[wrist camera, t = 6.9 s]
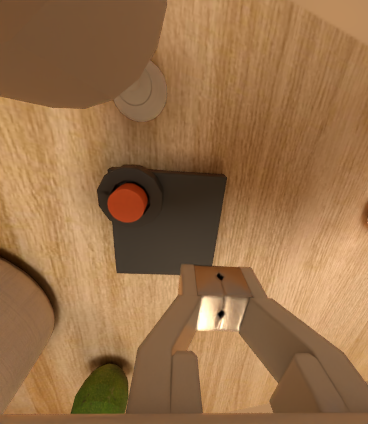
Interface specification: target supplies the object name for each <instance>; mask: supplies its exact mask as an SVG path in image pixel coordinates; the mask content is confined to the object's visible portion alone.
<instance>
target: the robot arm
mask: <svg viewBox="0 0 368 424" xmlns="http://www.w3.org/2000/svg"><path fill="white" fill-rule="evenodd" d="M213 330H217V331H235V332H239V334H240V335H241V337H242V338H243V339H244V340H245V342H246V343H247V344H248V345H249V347H250V348H251V349H252V350H253V352H254V353H255V354H256V356H257V357H258V358H259V359H260V361H261V362H262V363H263V364H264V366H265V367H266V368H267V370H268V371H269V372H270V373H271V375H272V376H273V377H274V378H275V380H276V381H277V382H278V385H277V387H276V389H275V391H274V392H273V394H272V396H271V398H270V404H271V407H272V410H273V413H203V412H202V402H201V391H200V381H199V370H198V360H197V356H196V355H195V354H194V353H193V352H192V351H187V350H188V347H189V345H190V343H191V341H192V339H193V337H194V335H195V332H196V331H213ZM0 424H368V385H367V384H366V382H365V381H364V379H363V378H362V377H361V375H360V374H359V373H358V371H357V370H356V369H355V367H354V366H353V365H352V363H351V362H350V361H349V359H348V358H347V357H346V355H345V354H344V353H343V352H342V351H341V350H339V349H338V348H337V347H335V346H334V345H333V344H331V343H330V342H329V341H327V340H326V339H325V338H323V337H322V336H321V335H319V334H318V333H317V332H315V331H314V330H313V329H312V328H310V327H309V326H308V325H306V324H305V323H304V322H302V321H301V320H300V319H298V318H297V317H296V316H294V315H293V314H292V313H290V312H289V311H288V310H286V309H285V308H284V307H283V306H281V305H280V304H279V303H277V302H276V301H275V300H273V299H271V298H268V297H267V295H266V293H265V291H264V290H263V288H262V286H261V284H260V282H259V281H258V279H257V277H256V275H255V273H254V272H253V270H252V268H250V267H226V266H209V265H195V264H181V268H180V278H179V289H178V296H177V297H176V299H175V300H174V301H173V303H172V304H171V305H170V307H169V308H168V309H167V311H166V312H165V313H164V315H163V316H162V317H161V319H160V320H159V321H158V322H157V324H156V325H155V326H154V328H153V329H152V330H151V332H150V333H149V334H148V336H147V337H146V338H145V340H144V341H143V342H142V344H141V345H140V346H139V347H138V350H137V356H136V361H135V366H134V372H133V377H132V382H131V388H130V393H129V398H128V404H127V409H126V414H0Z"/></svg>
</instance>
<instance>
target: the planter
mask: <svg viewBox="0 0 368 424" xmlns="http://www.w3.org/2000/svg"><path fill="white" fill-rule="evenodd" d="M54 324H55V317H54V311H53V308H52V305H51V303H50V301H49V299H48V297H47V295H46V294H45V292H44V291H43V290H42V288H41V287H40V286H39V285H38V284H37V283H36V282H35V281H34V280H33V279H32V278H31V277H30V276H29V275H28V274H27V273H26V272H24V271H23V270H21V269H20V268H18V267H17V266H15V265H14V264H12V263H11V262H9V261H7V260H5V259H3V258H1V257H0V414H3V413H4V411H5V410H6V408H7V407H8V405H9V403H10V402H11V400H12V399H13V397H14V396H15V394H16V392H17V391H18V389H19V388H20V386H21V385H22V383H23V381H24V380H25V378H26V377H27V375H28V373H29V372H30V370H31V369H32V367H33V366H34V364H35V362H36V361H37V359H38V358H39V356H40V354H41V353H42V351H43V349H44V348H45V346H46V344H47V343H48V341H49V339H50V337H51V335H52V332H53V330H54Z"/></svg>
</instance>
